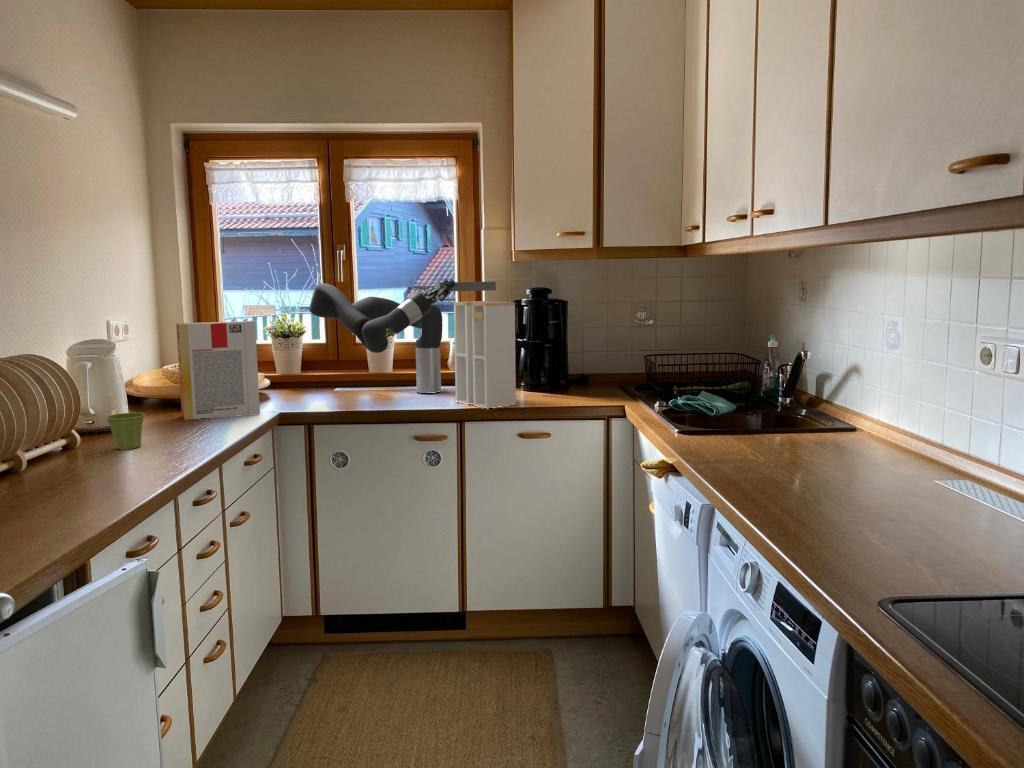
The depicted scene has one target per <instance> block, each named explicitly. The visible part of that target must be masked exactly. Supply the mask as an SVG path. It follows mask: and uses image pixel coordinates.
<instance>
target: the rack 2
mask: <svg viewBox="0 0 1024 768" xmlns="http://www.w3.org/2000/svg"><path fill="white" fill-rule="evenodd" d="M472 348H473V405H478V406H482V407H485V408H486V409H485V410H490V409H489V408H492V407H498V406H505V405H513V404H516V405H517V401H516V399H517V397H516V395H517V394H516V393H517V391H516V389H517V387H516V384H517V383H516V382H517V381H516V302H515V301H514V302H513V301H491V302H482V303H472ZM473 405H472V406H473Z"/></svg>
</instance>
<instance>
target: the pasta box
mask: <svg viewBox="0 0 1024 768" xmlns="http://www.w3.org/2000/svg"><path fill="white" fill-rule="evenodd" d="M175 323H176V324H175V326H176V341H177V343H176V344H177V345H176V346H177V356H178V373H179V391H180V403H181V404H180V405H181V417H182V416H183V417H182V419H183V418H184V419H197V418H210V419H215V418H214V417H222V418H226V417H225V416H234V417H237V416H236V415H246V416H251V415H250V414H258V415H260V414H261V408H260V407H261V406H260V386H259V385H260V384H259V369H258V367H259V366H258V365H259V364H258V349H257V348H258V347H257V329H256V321H252V320H240V321H239V320H238V321H236V320H235V321H215V322H214V321H211V322H209V321H207V322H205V321H204V322H181V323H180V322H179V323H178V322H175ZM259 413H260V414H259ZM184 419H183V420H184Z"/></svg>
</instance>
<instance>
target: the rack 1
mask: <svg viewBox="0 0 1024 768" xmlns="http://www.w3.org/2000/svg"><path fill="white" fill-rule="evenodd" d="M482 302H492V301H486V300H485V301H483V300H481V301H480V300H479V301H454V302H453V327H454V329H453V332H454V335H453V336H454V376H455V377H454V382H455V383H454V385H455V391H454V393H455V401H456V400H457V401H461V402H465V403H473V348H472V303H482Z"/></svg>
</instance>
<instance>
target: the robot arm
mask: <svg viewBox="0 0 1024 768" xmlns="http://www.w3.org/2000/svg"><path fill="white" fill-rule="evenodd" d="M443 282H448V283H447V284H445V285H443V286H442V287H440V288H436V289H435V285H432V286H431V287H429V288H427V289H425V290H423V291H420V292H416V293H415V294H412V296H410V297H409V298H407V299H406V300H405V301H403V302H401V303H399V302H397V301H394V300H391V299H388V298H385V297H379V296H378V297H377V296H367V297H364V298H362V299H359V300H357V301H355V302H353V303H352V302H351V301H350V300H349V299H348V298H347V296H346V295H345V294H344V293H343V292H342V291H341V290H340V289H339V288H338V287H336V286H334V285H332V284H330V283H324V282H323V283H322V282H321V283H317V284H315V285H316V286H315V288H314V289H313V293H312V296H311V300H310V304H309V308H308V309H309V312H310V313H311V314H312V315H314V316H316V317H319V318H324V319H338V320H339V319H340V322H341V323H342V325H343V326H344V327H345V329H346V330H348V331H349V332H350V333H352V334H353V335H354V336H356V337H357V339H358V340H359V342H360V343H361V344H362V345H363V346H364V347H365V349H366V350H367V351H369V352H371V353H376V354H380V353H382V352H384V351H386V350H387V348H388V345H389V340H388V336H387V333H386V330H387V329H388V331H390V333H392V334H394V335H397V334H400V333H401V332H403V331H404V330H406V328H408V327H409V326H410V327H413V328H416V329H421V330H420V333H421V334H420V337H418V338H417V339H416V340H415V368H416V369H415V371H416V372H415V375H416V376H415V377H416V378H415V379H416V393H417V392H420V393H427V392H437V391H441V392H442V377H441V375H442V374H441V372H442V370H441V369H442V368H441V367H442V366H441V342H442V339H443V314H442V311H441V309H440V308H439V307H438V306H437V305H434V304H436V303H437V302H438V301H440V302H443V301H444V300H445V299H446V298H447V297H448V295H450V293H451V291H449V290H450V289H451V288H453V287H454V286H455V285H456V284H455V282H456V281H454V280H453V279H451V280H448V279H445V280H443ZM437 291H438V292H437ZM420 393H419V394H420Z"/></svg>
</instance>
